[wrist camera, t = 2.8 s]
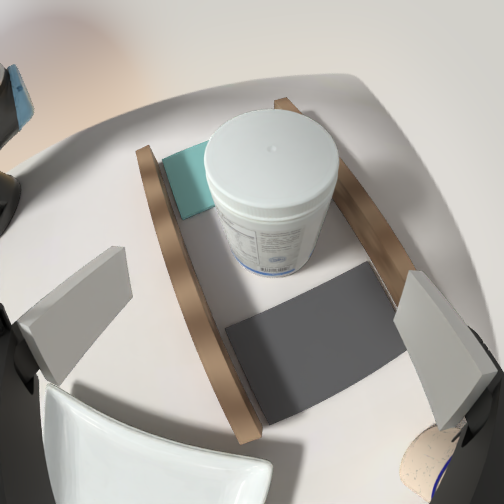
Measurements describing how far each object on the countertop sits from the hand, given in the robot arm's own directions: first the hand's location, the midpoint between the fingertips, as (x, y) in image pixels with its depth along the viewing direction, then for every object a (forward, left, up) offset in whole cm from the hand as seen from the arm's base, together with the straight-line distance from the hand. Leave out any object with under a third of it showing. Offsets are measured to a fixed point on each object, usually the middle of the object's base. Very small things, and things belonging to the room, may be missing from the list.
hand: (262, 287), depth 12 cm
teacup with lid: (+24, +12, -17) cm, 32 cm away
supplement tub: (-9, +5, -17) cm, 20 cm away
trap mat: (+4, +5, -17) cm, 18 cm away
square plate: (+16, -23, -17) cm, 33 cm away
